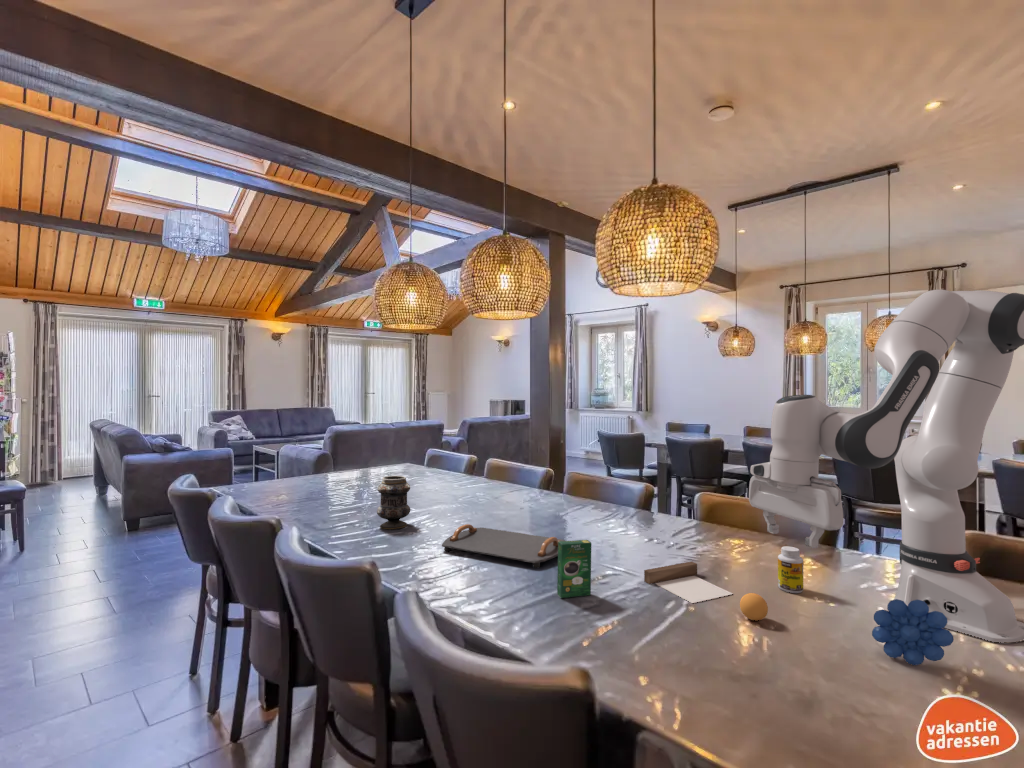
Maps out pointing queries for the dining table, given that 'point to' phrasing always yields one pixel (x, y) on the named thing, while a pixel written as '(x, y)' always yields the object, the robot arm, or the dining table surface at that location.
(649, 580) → the stop rail
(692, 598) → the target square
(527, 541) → the serving board
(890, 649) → the blue bumpy cluster
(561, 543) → the coffee box
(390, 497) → the apothecary jar
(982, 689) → the dining table surface
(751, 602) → the ball
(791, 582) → the supplement bottle
